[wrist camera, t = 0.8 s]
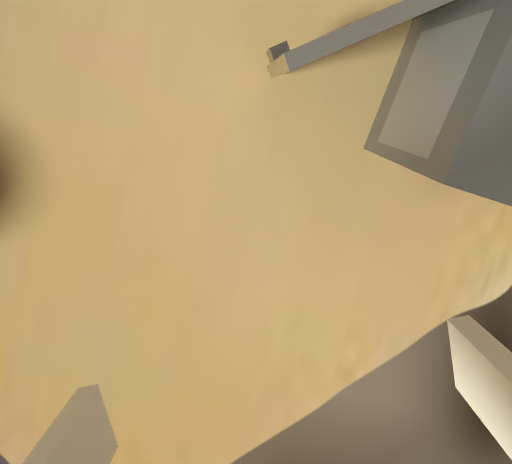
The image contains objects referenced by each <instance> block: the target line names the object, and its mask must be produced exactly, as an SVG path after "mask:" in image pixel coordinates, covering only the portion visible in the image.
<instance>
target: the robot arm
mask: <svg viewBox="0 0 512 464" xmlns="http://www.w3.org/2000/svg"><path fill="white" fill-rule="evenodd" d="M447 322H448V330H449V338H450V346H451V354H452V362H453V370H454V378H455V386H456V388H457V389H458V391H459V392H460V393H461V394H462V396H463V397H464V398H465V400H466V401H467V402H468V404H469V405H470V406H471V408H472V409H473V410H474V411H475V413H476V414H477V415H478V417H479V418H480V419H481V421H482V422H483V423H484V424H485V426H486V427H487V428H488V430H489V431H490V432H491V434H492V435H493V436H494V437H495V439H496V440H497V441H498V443H499V444H500V445H501V447H502V448H503V449H504V451H505V452H506V453H507V454H508V456H509V457H510V458H511V460H512V353H511V352H510V351H509V350H508V349H507V348H506V347H505V346H503V345H502V344H501V343H500V342H499V341H498V340H496V339H495V338H494V337H493V336H492V335H491V334H490V333H489V332H487V331H486V330H485V329H484V328H483V327H482V326H480V325H479V324H478V323H477V322H476V321H475V320H474V319H472V318H471V317H470V316H469V315H467V316H463V317H457V318H451V319H447ZM117 447H118V445H117V442H116V439H115V436H114V433H113V430H112V426H111V423H110V420H109V417H108V414H107V411H106V408H105V405H104V402H103V399H102V396H101V393H100V390H99V387H98V384H96V385H90V386H85V387H80V388H78V389H77V390H76V392H75V393H74V394H73V396H72V397H71V398H70V400H69V401H68V403H67V404H66V405H65V407H64V408H63V409H62V411H61V412H60V413H59V415H58V416H57V417H56V419H55V420H54V422H53V423H52V424H51V426H50V427H49V428H48V430H47V431H46V432H45V434H44V435H43V436H42V438H41V439H40V441H39V442H38V443H37V445H36V446H35V447H34V449H33V450H32V451H31V453H30V454H29V455H28V457H27V458H26V460H25V461H24V462H23V464H110V462H111V460H112V458H113V455H114V453H115V451H116V449H117Z"/></svg>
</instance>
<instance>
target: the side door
mask: <svg viewBox="0 0 512 464" xmlns="http://www.w3.org/2000/svg"><path fill="white" fill-rule="evenodd" d="M458 1H460V0H404V1H402V2H399V3H397V4H395V5H393V6H390V7H388V8H386V9H383V10H381V11H379V12H377V13H374V14H372V15H370V16H368V17H365V18H363V19H361V20H358V21H356V22H354V23H352V24H349V25H347V26H345V27H342V28H340V29H338V30H336V31H333V32H331V33H329V34H326V35H324V36H322V37H320V38H317V39H315V40H313V41H310V42H308V43H306V44H304V45H301V46H299V47H297V48H295V49H292V50H290V49H289V46H288V43H287V41H285V42H283V43H280V44H278V45H276V46H273V47H271V48H269V49H268V51H267V52H266V53H267V55H268V58H269V61H270V63H271V64H270V65H268V66H267V68H268V71H269V73H270V76H271V78H274V77H276V76H279V75H282V74H284V73H287V72H290V71H292V70H294V69H297V68H299V67H301V66H304V65H306V64H308V63H311V62H313V61H315V60H317V59H320V58H322V57H324V56H327V55H329V54H331V53H334V52H336V51H338V50H340V49H343V48H345V47H347V46H350V45H352V44H354V43H357V42H359V41H361V40H364V39H366V38H368V37H370V36H373V35H375V34H377V33H380V32H382V31H384V30H387V29H389V28H391V27H393V26H396V25H398V24H400V23H403V22H405V21H407V20H413V19H416V18H418V17H421V16H423V15H426V14H428V13H431V12H433V11H436V10H438V9H440V8H443V7H445V6H448V5H450V4H453V3H455V2H458Z"/></svg>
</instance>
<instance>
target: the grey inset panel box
mask: <svg viewBox="0 0 512 464" xmlns="http://www.w3.org/2000/svg"><path fill="white" fill-rule="evenodd" d="M364 149H366V150H368V151H370V152H373V153H375V154H377V155H379V156H382V157H384V158H386V159H388V160H391V161H393V162H395V163H397V164H399V165H402V166H404V167H406V168H408V169H411V170H413V171H415V172H417V173H420V174H422V175H424V176H426V177H429V178H431V179H433V180H435V181H438V182H440V183H442V184H445V185H448V186H451V187H454V188H457V189H460V190H463V191H466V192H469V193H473V194H476V195H479V196H482V197H485V198H488V199H491V200H494V201H497V202H500V203H503V204H506V205H509V206H512V0H460V1H458V2H455V3H453V4H450V5H448V6H445V7H443V8H440V9H438V10H436V11H433V12H431V13H428V14H426V15H423V16H421V17H418V18H416V19H414V20H413V23H412V25H411V28H410V31H409V33H408V36H407V38H406V41H405V43H404V46H403V49H402V51H401V54H400V56H399V59H398V61H397V64H396V67H395V69H394V72H393V74H392V77H391V79H390V82H389V85H388V87H387V90H386V92H385V95H384V97H383V100H382V103H381V105H380V108H379V110H378V113H377V115H376V118H375V121H374V123H373V126H372V128H371V131H370V133H369V136H368V139H367V141H366V144H365V146H364Z"/></svg>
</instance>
